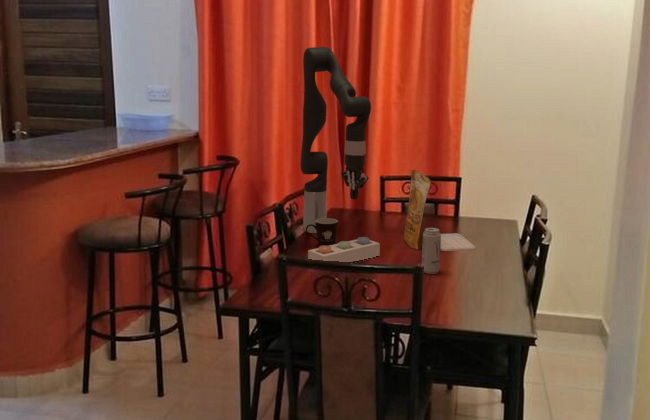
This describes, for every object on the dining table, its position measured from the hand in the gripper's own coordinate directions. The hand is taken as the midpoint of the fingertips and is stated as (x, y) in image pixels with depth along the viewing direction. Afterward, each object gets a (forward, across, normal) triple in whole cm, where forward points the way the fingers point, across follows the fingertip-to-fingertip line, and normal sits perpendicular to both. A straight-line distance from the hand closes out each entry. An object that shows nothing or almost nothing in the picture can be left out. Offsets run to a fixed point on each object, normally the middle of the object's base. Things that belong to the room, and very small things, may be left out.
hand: (354, 198), depth 249 cm
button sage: (+17, +6, -9) cm, 20 cm away
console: (+20, +6, -9) cm, 23 cm away
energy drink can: (+20, +34, +6) cm, 40 cm away
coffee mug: (+21, -13, -4) cm, 25 cm away
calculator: (+21, +15, +38) cm, 46 cm away
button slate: (+17, +6, 0) cm, 18 cm away
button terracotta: (+17, +6, -18) cm, 25 cm away
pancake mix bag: (+21, +7, +26) cm, 34 cm away
